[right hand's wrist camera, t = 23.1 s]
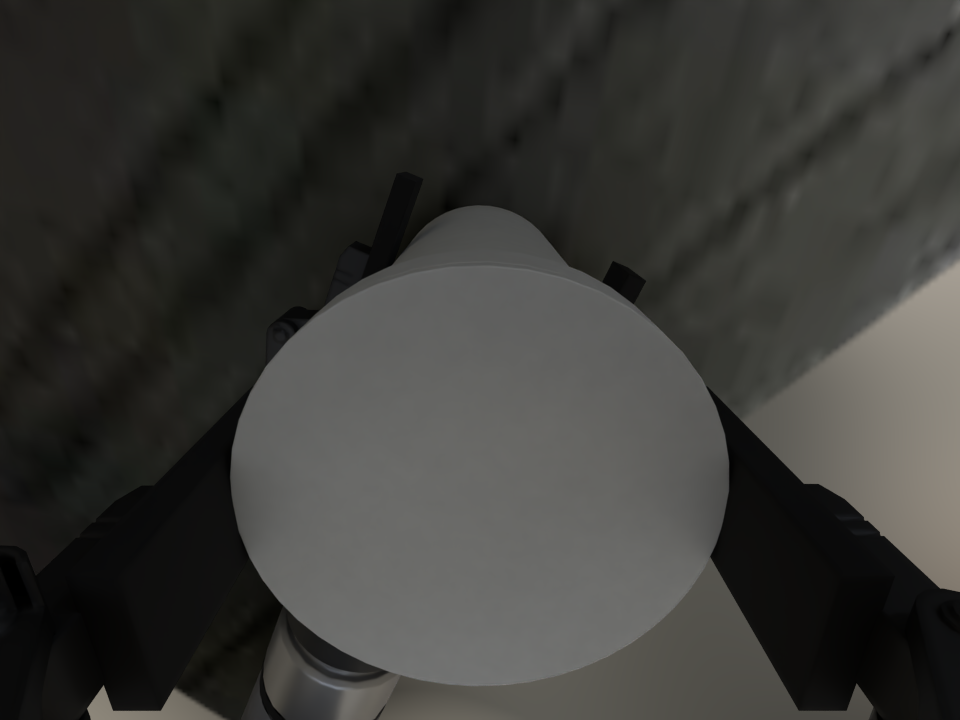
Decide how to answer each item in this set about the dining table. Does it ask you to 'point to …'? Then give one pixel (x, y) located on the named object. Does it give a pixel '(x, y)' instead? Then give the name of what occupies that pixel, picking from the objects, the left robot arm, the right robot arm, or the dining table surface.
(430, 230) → the jar
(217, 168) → the dining table surface
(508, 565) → the lid
